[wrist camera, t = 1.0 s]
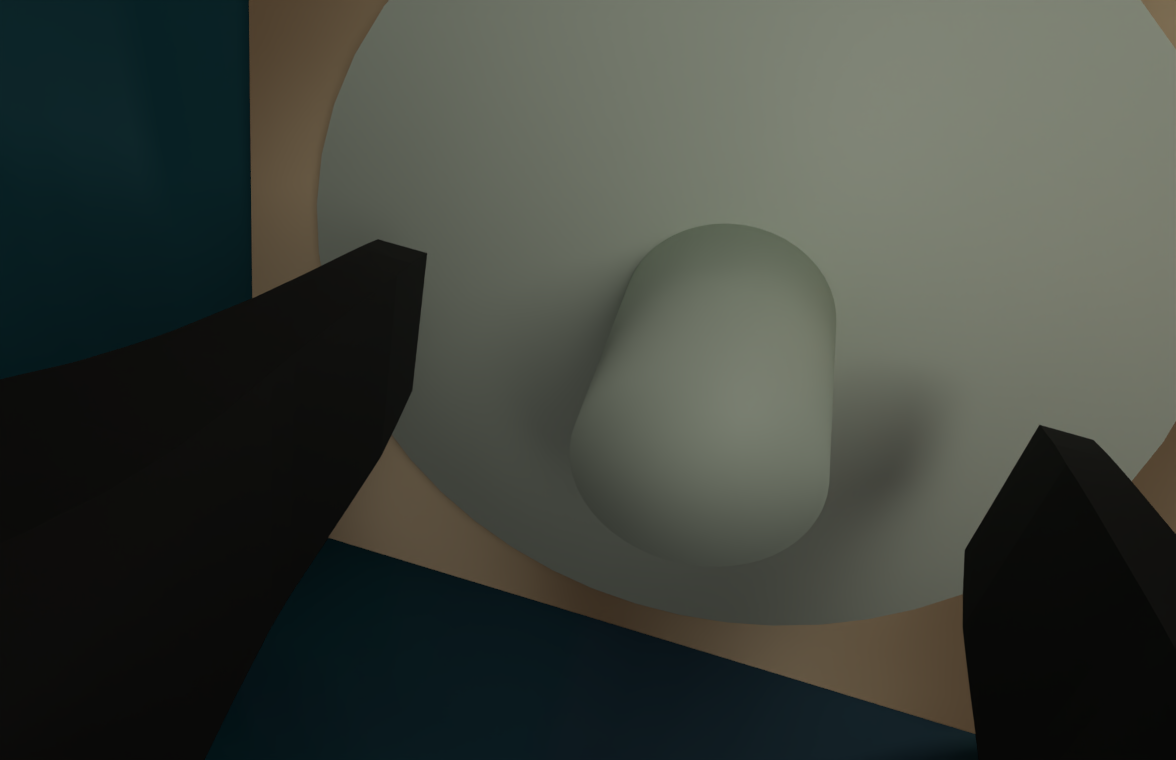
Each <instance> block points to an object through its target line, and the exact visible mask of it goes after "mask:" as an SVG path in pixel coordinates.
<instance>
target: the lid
mask: <svg viewBox="0 0 1176 760" xmlns="http://www.w3.org/2000/svg"><path fill="white" fill-rule="evenodd" d="M317 221H318V245H319V256H320V262H321V266H322V265H324V264H326V263H328V262H330V261H332V260H334V259H336V258H338V257H340V256H342V255H344V254H346V253H348V252H350V251H352V250H354V249H357V248H359V247H361V246H363V245H365V244H367V243H370V242H372V241H375V240H377V239H379V240H383V241H386V242H390V243H393V244H397V245H400V246H404V247H408V248H411V249H415V250H418V251H422V252H425V253H427V260H426V270H425V279H424V288H423V297H422V307H421V316H420V325H419V335H418V344H417V353H416V362H415V372H414V381H413V390H412V393H411V395H410V397H409V399H408V401H407V403H406V406H405V408H404V410H403V412H402V414H401V416H400V419H399V421H398V423H397V425H396V427H395V429H394V431H393V433H392V436H393V437H394V438H395V440H396V441H397V442H398V444H399V445H400V446H401V447H402V449H403V450H404V451H405V453H406V454H407V455H408V457H409V458H410V459H411V460H412V461H413V462H414V464H415V465H416V466H417V467H418V468H419V469H420V470H421V471H422V472H423V473H424V474H425V475H426V476H427V477H428V478H429V479H430V480H431V481H432V482H433V484H434V485H435V486H436V487H437V488H438V489H439V490H440V491H441V492H442V493H443V494H444V495H446V496H447V497H448V498H449V499H450V500H451V501H453V502H454V503H455V504H456V505H457V506H458V507H459V508H461V509H462V510H463V511H464V512H465V513H466V514H468V515H469V516H470V517H471V518H472V519H473V520H475V521H476V522H477V523H479V524H480V525H481V526H483V527H484V528H486V529H487V530H489V531H490V532H491V533H493V534H494V535H496V536H497V537H498V538H500V539H501V540H503V541H504V542H506V543H507V544H508V545H510V546H511V547H513V548H514V549H516V550H518V551H520V552H521V553H523V554H525V555H527V556H528V557H530V558H532V559H534V560H535V561H537V562H539V563H541V564H542V565H544V566H546V567H548V568H549V569H551V570H553V571H555V572H558V573H560V574H562V575H564V576H566V577H569V578H571V579H573V580H575V581H577V582H580V583H582V584H584V585H586V586H588V587H590V588H593V589H596V590H598V591H601V592H604V593H607V594H610V595H613V596H615V597H618V598H621V599H624V600H627V601H630V602H632V603H635V604H639V605H643V606H647V607H651V608H655V609H659V610H663V611H667V612H671V613H675V614H678V615H684V616H690V617H696V618H702V619H708V620H715V621H721V622H728V623H742V624H756V625H770V626H780V625H822V624H831V623H840V622H849V621H857V620H866V619H872V618H876V617H881V616H886V615H891V614H895V613H900V612H905V611H910V610H914V609H918V608H921V607H924V606H927V605H930V604H933V603H937V602H940V601H943V600H946V599H949V598H952V597H956V596H959V595H962V594H963V576H964V553H965V549H966V547H967V545H968V544H969V542H970V540H971V538H972V537H973V535H974V533H975V532H976V530H977V528H978V527H979V525H980V523H981V522H982V520H983V518H984V517H985V515H986V513H987V512H988V510H989V508H990V507H991V505H992V503H993V502H994V500H995V498H996V497H997V495H998V493H999V492H1000V490H1001V488H1002V487H1003V485H1004V483H1005V481H1006V480H1007V478H1008V476H1009V475H1010V473H1011V471H1012V470H1013V468H1014V466H1015V465H1016V463H1017V461H1018V460H1019V458H1020V456H1021V455H1022V453H1023V451H1024V450H1025V448H1026V446H1027V445H1028V443H1029V441H1030V440H1031V438H1032V436H1033V435H1034V433H1035V431H1036V430H1037V428H1038V426H1039V425H1042V426H1046V427H1049V428H1053V429H1057V430H1060V431H1064V432H1067V433H1071V434H1074V435H1078V436H1082V437H1085V438H1089V439H1092V440H1094V441H1095V442H1096V443H1097V444H1098V445H1099V446H1100V447H1101V448H1102V449H1103V450H1104V451H1105V452H1106V453H1107V454H1108V455H1109V456H1110V457H1111V458H1112V459H1113V460H1114V462H1115V463H1116V464H1117V465H1118V466H1119V467H1120V468H1121V470H1122V471H1123V472H1124V473H1125V474H1126V475H1127V477H1128V478H1129V479H1130V480H1131V481H1132V480H1133V479H1134V478H1135V476H1136V475H1137V474H1138V473H1139V472H1140V470H1141V469H1142V468H1143V467H1144V465H1145V464H1146V463H1147V462H1148V460H1149V459H1150V458H1151V457H1152V455H1153V454H1154V453H1155V452H1156V450H1157V449H1158V448H1159V447H1160V445H1161V444H1162V443H1163V442H1164V440H1165V438H1166V437H1167V435H1168V433H1169V432H1170V430H1171V428H1172V427H1173V425H1174V423H1175V422H1176V49H1175V48H1174V46H1173V45H1172V43H1171V42H1170V41H1169V39H1168V38H1167V36H1166V35H1165V33H1164V32H1163V31H1162V29H1161V28H1160V26H1159V25H1158V24H1157V22H1156V21H1155V19H1154V18H1153V17H1152V15H1151V14H1150V12H1149V11H1148V10H1147V8H1146V7H1145V5H1144V4H1143V3H1142V1H1141V0H389V1H388V2H387V3H386V4H385V6H384V7H383V9H382V10H381V12H380V14H379V15H378V17H377V19H376V20H375V22H374V24H373V25H372V27H371V29H370V30H369V32H368V34H367V35H366V37H365V38H364V40H363V42H362V43H361V45H360V47H359V48H358V50H357V52H356V53H355V55H354V58H353V60H352V63H351V65H350V67H349V70H348V72H347V75H346V77H345V79H344V82H343V84H342V87H341V89H340V91H339V94H338V96H337V99H336V101H335V104H334V107H333V111H332V115H331V119H330V123H329V127H328V131H327V135H326V139H325V143H324V147H323V151H322V157H321V167H320V177H319V187H318V197H317Z"/></svg>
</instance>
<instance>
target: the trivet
mask: <svg viewBox="0 0 1176 760" xmlns="http://www.w3.org/2000/svg"><path fill="white" fill-rule="evenodd" d="M388 1H389V0H249V45H250V133H251V220H252V298H254V297H256V296H258V295H261V294H263V293H265V292H267V291H269V290H271V289H273V288H275V287H278V286H280V285H282V284H284V283H286V282H288V281H290V280H293V279H295V278H297V277H299V276H301V275H303V274H305V273H307V272H309V271H311V270H313V269H315V268H318V267H320V266H321V262H320V256H319V245H318V221H317V197H318V187H319V177H320V167H321V157H322V151H323V147H324V143H325V139H326V135H327V131H328V127H329V123H330V119H331V115H332V111H333V107H334V104H335V101H336V99H337V96H338V94H339V91H340V89H341V87H342V84H343V82H344V79H345V77H346V75H347V72H348V70H349V67H350V65H351V63H352V60H353V58H354V55H355V53H356V52H357V50H358V48H359V47H360V45H361V43H362V42H363V40H364V38H365V37H366V35H367V34H368V32H369V30H370V29H371V27H372V25H373V24H374V22H375V20H376V19H377V17H378V15H379V14H380V12H381V10H382V9H383V7H384V6H385V4H386V3H387V2H388ZM1141 1H1142V3H1143V4H1144V5H1145V7H1146V8H1147V10H1148V11H1149V12H1150V14H1151V15H1152V17H1153V18H1154V19H1155V21H1156V22H1157V24H1158V25H1159V26H1160V28H1161V29H1162V31H1163V32H1164V33H1165V35H1166V36H1167V38H1168V39H1169V41H1170V42H1171V43H1172V45H1173V46H1174V48H1175V49H1176V0H1141ZM1132 482H1133V484H1134V485H1135V486H1136V487H1137V488H1138V489H1139V491H1140V492H1141V493H1142V494H1143V495H1144V497H1145V498H1146V499H1147V500H1148V501H1149V503H1150V504H1151V505H1152V506H1153V507H1154V509H1155V510H1156V511H1157V512H1158V513H1159V515H1160V516H1161V517H1162V518H1163V519H1164V521H1165V522H1166V523H1167V524H1168V525H1169V527H1170V528H1171V529H1172V530H1173V531H1174V532H1175V534H1176V422H1175V423H1174V425H1173V427H1172V428H1171V430H1170V432H1169V433H1168V435H1167V437H1166V438H1165V440H1164V442H1163V443H1162V444H1161V445H1160V447H1159V448H1158V449H1157V450H1156V452H1155V453H1154V454H1153V455H1152V457H1151V458H1150V459H1149V460H1148V462H1147V463H1146V464H1145V465H1144V467H1143V468H1142V469H1141V470H1140V472H1139V473H1138V474H1137V475H1136V476H1135V478H1134V479H1133V480H1132ZM328 538H331V539H335V540H338V541H341V542H344V543H348V544H351V545H354V546H358V547H361V548H364V549H367V550H371V551H374V552H377V553H381V554H384V555H387V556H391V557H394V558H397V559H400V560H404V561H407V562H410V563H414V564H417V565H420V566H424V567H427V568H430V569H433V570H437V571H440V572H443V573H447V574H450V575H453V576H456V577H460V578H463V579H466V580H470V581H473V582H476V583H480V584H483V585H486V586H489V587H493V588H496V589H499V590H503V591H506V592H509V593H513V594H516V595H519V596H522V597H526V598H529V599H532V600H536V601H539V602H542V603H546V604H549V605H552V606H555V607H559V608H562V609H565V610H569V611H572V612H575V613H578V614H582V615H585V616H588V617H592V618H595V619H598V620H602V621H605V622H608V623H611V624H615V625H618V626H621V627H625V628H628V629H631V630H635V631H638V632H641V633H644V634H648V635H651V636H654V637H658V638H661V639H664V640H667V641H671V642H674V643H677V644H681V645H684V646H687V647H691V648H694V649H697V650H700V651H704V652H707V653H710V654H714V655H717V656H720V657H724V658H727V659H730V660H733V661H737V662H740V663H743V664H747V665H750V666H753V667H756V668H760V669H763V670H766V671H770V672H773V673H776V674H780V675H783V676H786V677H789V678H793V679H796V680H799V681H803V682H806V683H809V684H813V685H816V686H819V687H822V688H826V689H829V690H832V691H836V692H839V693H842V694H845V695H849V696H852V697H855V698H859V699H862V700H865V701H869V702H872V703H875V704H878V705H882V706H885V707H888V708H892V709H895V710H898V711H902V712H905V713H908V714H911V715H915V716H918V717H921V718H925V719H928V720H931V721H935V722H938V723H941V724H944V725H948V726H951V727H954V728H958V729H961V730H964V731H967V732H971V733H974V734H975V726H974V719H973V711H972V703H971V696H970V688H969V680H968V671H967V663H966V655H965V646H964V637H963V594H962V595H959V596H956V597H952V598H949V599H946V600H943V601H940V602H937V603H933V604H930V605H927V606H924V607H921V608H918V609H914V610H910V611H905V612H900V613H895V614H891V615H886V616H881V617H876V618H872V619H866V620H857V621H849V622H840V623H831V624H822V625H780V626H770V625H756V624H742V623H728V622H721V621H715V620H708V619H702V618H696V617H690V616H684V615H678V614H675V613H671V612H667V611H663V610H659V609H655V608H651V607H647V606H643V605H639V604H635V603H632V602H630V601H627V600H624V599H621V598H618V597H615V596H613V595H610V594H607V593H604V592H601V591H598V590H596V589H593V588H590V587H588V586H586V585H584V584H582V583H580V582H577V581H575V580H573V579H571V578H569V577H566V576H564V575H562V574H560V573H558V572H555V571H553V570H551V569H549V568H548V567H546V566H544V565H542V564H541V563H539V562H537V561H535V560H534V559H532V558H530V557H528V556H527V555H525V554H523V553H521V552H520V551H518V550H516V549H514V548H513V547H511V546H510V545H508V544H507V543H506V542H504V541H503V540H501V539H500V538H498V537H497V536H496V535H494V534H493V533H491V532H490V531H489V530H487V529H486V528H484V527H483V526H481V525H480V524H479V523H477V522H476V521H475V520H473V519H472V518H471V517H470V516H469V515H468V514H466V513H465V512H464V511H463V510H462V509H461V508H459V507H458V506H457V505H456V504H455V503H454V502H453V501H451V500H450V499H449V498H448V497H447V496H446V495H444V494H443V493H442V492H441V491H440V490H439V489H438V488H437V487H436V486H435V485H434V484H433V482H432V481H431V480H430V479H429V478H428V477H427V476H426V475H425V474H424V473H423V472H422V471H421V470H420V469H419V468H418V467H417V466H416V465H415V464H414V462H413V461H412V460H411V459H410V458H409V457H408V455H407V454H406V453H405V451H404V450H403V449H402V447H401V446H400V445H399V444H398V442H397V441H396V440H395V438H394V437H393V436H392V435H391V437H390V439H389V441H388V444H387V446H386V448H385V450H384V452H383V454H382V456H381V458H380V459H379V461H378V462H377V464H376V465H375V467H374V469H373V470H372V472H371V473H370V475H369V476H368V478H367V479H366V481H365V482H364V484H363V485H362V487H361V489H360V490H359V492H358V493H357V495H356V496H355V498H354V499H353V501H352V502H351V504H350V505H349V507H348V508H347V510H346V511H345V513H344V515H343V516H342V518H341V519H340V521H339V522H338V524H337V525H336V527H335V528H334V530H333V531H332V533H331V534H330V536H329V537H328Z"/></svg>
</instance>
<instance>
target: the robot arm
mask: <svg viewBox="0 0 1176 760" xmlns="http://www.w3.org/2000/svg"><path fill="white" fill-rule="evenodd" d="M426 260H427V253H425V252H422V251H418V250H415V249H411V248H408V247H404V246H400V245H397V244H393V243H390V242H386V241H383V240H379V239H377V240H375V241H372V242H370V243H367V244H365V245H363V246H361V247H359V248H357V249H354V250H352V251H350V252H348V253H346V254H344V255H342V256H340V257H338V258H336V259H334V260H332V261H330V262H328V263H326V264H324V265H322V266H320V267H318V268H315V269H313V270H311V271H309V272H307V273H305V274H303V275H301V276H299V277H297V278H295V279H293V280H290V281H288V282H286V283H284V284H282V285H280V286H278V287H275V288H273V289H271V290H269V291H267V292H265V293H263V294H261V295H258V296H256V297H254V298H252V299H250V300H247V301H245V302H242V303H240V304H238V305H235V306H233V307H230V308H228V309H225V310H223V311H220V312H218V313H216V314H213V315H211V316H208V317H206V318H203V319H201V320H198V321H196V322H194V323H191V324H189V325H186V326H184V327H181V328H179V329H176V330H174V331H171V332H168V333H165V334H163V335H160V336H157V337H154V338H151V339H148V340H145V341H142V342H140V343H137V344H134V345H130V346H127V347H124V348H121V349H117V350H114V351H111V352H107V353H104V354H101V355H97V356H94V357H91V358H88V359H84V360H80V361H77V362H73V363H69V364H65V365H61V366H57V367H52V368H48V369H44V370H39V371H35V372H31V373H26V374H22V375H18V376H13V377H9V378H5V379H0V760H204V759H205V757H206V755H207V753H208V751H209V749H210V747H211V745H212V743H213V741H214V739H215V737H216V735H217V733H218V731H219V729H220V727H221V725H222V722H223V720H224V718H225V716H226V714H227V712H228V710H229V708H230V706H231V704H232V702H233V700H234V698H235V696H236V694H237V692H238V690H239V688H240V686H241V684H242V683H243V681H244V679H245V677H246V675H247V673H248V671H249V669H250V667H251V665H252V663H253V661H254V659H255V657H256V655H257V653H258V651H259V649H260V648H261V646H262V644H263V642H264V640H265V638H266V636H267V634H268V632H269V630H270V628H271V626H272V625H273V623H274V621H275V620H276V618H277V616H278V615H279V613H280V611H281V610H282V608H283V606H284V605H285V603H286V601H287V600H288V598H289V596H290V595H291V593H292V592H293V590H294V589H295V587H296V585H297V584H298V582H299V581H300V579H301V578H302V576H303V575H304V573H305V572H306V570H307V569H308V567H309V566H310V564H311V563H312V561H313V560H314V558H315V557H316V555H317V554H318V552H319V551H320V549H321V548H322V546H323V545H324V543H325V542H326V540H327V539H328V537H329V536H330V534H331V533H332V531H333V530H334V528H335V527H336V525H337V524H338V522H339V521H340V519H341V518H342V516H343V515H344V513H345V511H346V510H347V508H348V507H349V505H350V504H351V502H352V501H353V499H354V498H355V496H356V495H357V493H358V492H359V490H360V489H361V487H362V485H363V484H364V482H365V481H366V479H367V478H368V476H369V475H370V473H371V472H372V470H373V469H374V467H375V465H376V464H377V462H378V461H379V459H380V458H381V456H382V454H383V452H384V450H385V448H386V446H387V444H388V441H389V439H390V437H391V435H392V433H393V431H394V429H395V427H396V425H397V423H398V421H399V419H400V416H401V414H402V412H403V410H404V408H405V406H406V403H407V401H408V399H409V397H410V395H411V393H412V390H413V381H414V372H415V362H416V353H417V344H418V335H419V325H420V316H421V307H422V297H423V288H424V279H425V270H426ZM963 637H964V646H965V655H966V663H967V671H968V680H969V688H970V696H971V703H972V711H973V719H974V726H975V734H976V742H977V750H978V757H979V760H1176V534H1175V532H1174V531H1173V530H1172V529H1171V528H1170V527H1169V525H1168V524H1167V523H1166V522H1165V521H1164V519H1163V518H1162V517H1161V516H1160V515H1159V513H1158V512H1157V511H1156V510H1155V509H1154V507H1153V506H1152V505H1151V504H1150V503H1149V501H1148V500H1147V499H1146V498H1145V497H1144V495H1143V494H1142V493H1141V492H1140V491H1139V489H1138V488H1137V487H1136V486H1135V485H1134V484H1133V482H1132V481H1131V480H1130V479H1129V478H1128V477H1127V475H1126V474H1125V473H1124V472H1123V471H1122V470H1121V468H1120V467H1119V466H1118V465H1117V464H1116V463H1115V462H1114V460H1113V459H1112V458H1111V457H1110V456H1109V455H1108V454H1107V453H1106V452H1105V451H1104V450H1103V449H1102V448H1101V447H1100V446H1099V445H1098V444H1097V443H1096V442H1095V441H1094V440H1092V439H1089V438H1085V437H1082V436H1078V435H1074V434H1071V433H1067V432H1064V431H1060V430H1057V429H1053V428H1049V427H1046V426H1042V425H1039V426H1038V428H1037V430H1036V431H1035V433H1034V435H1033V436H1032V438H1031V440H1030V441H1029V443H1028V445H1027V446H1026V448H1025V450H1024V451H1023V453H1022V455H1021V456H1020V458H1019V460H1018V461H1017V463H1016V465H1015V466H1014V468H1013V470H1012V471H1011V473H1010V475H1009V476H1008V478H1007V480H1006V481H1005V483H1004V485H1003V487H1002V488H1001V490H1000V492H999V493H998V495H997V497H996V498H995V500H994V502H993V503H992V505H991V507H990V508H989V510H988V512H987V513H986V515H985V517H984V518H983V520H982V522H981V523H980V525H979V527H978V528H977V530H976V532H975V533H974V535H973V537H972V538H971V540H970V542H969V544H968V545H967V547H966V549H965V553H964V576H963Z"/></svg>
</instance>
